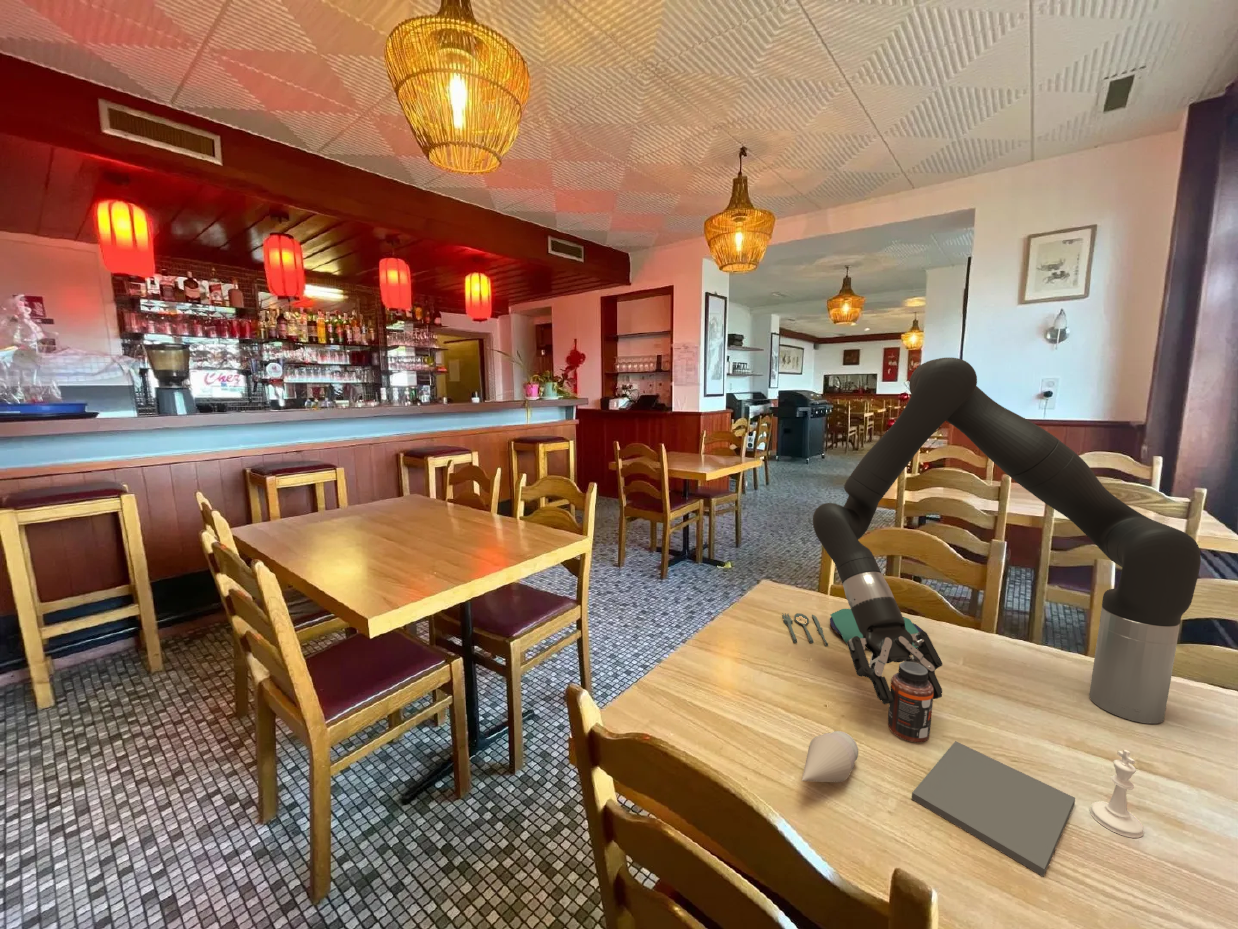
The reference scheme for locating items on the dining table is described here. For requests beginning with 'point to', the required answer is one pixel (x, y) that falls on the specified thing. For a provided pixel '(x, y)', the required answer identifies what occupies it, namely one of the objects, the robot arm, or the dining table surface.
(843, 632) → the cutlery set
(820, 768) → the ice cream cone
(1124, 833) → the chess piece
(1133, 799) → the dining table surface
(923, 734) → the supplement bottle
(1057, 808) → the mat
